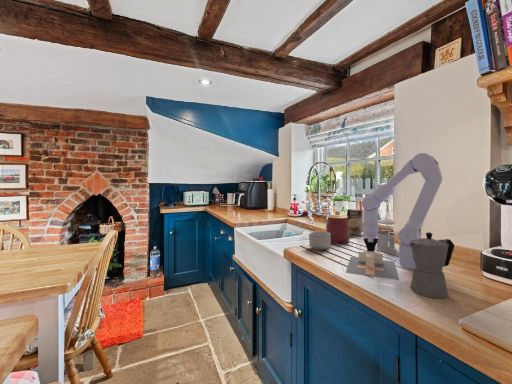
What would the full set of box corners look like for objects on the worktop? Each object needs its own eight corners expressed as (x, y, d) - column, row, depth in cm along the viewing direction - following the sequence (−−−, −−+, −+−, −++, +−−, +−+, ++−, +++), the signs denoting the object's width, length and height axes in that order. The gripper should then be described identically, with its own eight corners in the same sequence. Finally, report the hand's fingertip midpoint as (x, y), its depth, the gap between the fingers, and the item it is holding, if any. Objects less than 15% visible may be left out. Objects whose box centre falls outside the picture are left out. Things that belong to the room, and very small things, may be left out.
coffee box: (346, 234, 160) (346, 209, 159) (348, 232, 165) (348, 209, 165) (361, 235, 155) (361, 210, 154) (363, 234, 160) (363, 209, 160)
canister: (321, 241, 142) (321, 210, 141) (333, 237, 150) (333, 209, 150) (342, 245, 132) (342, 212, 131) (353, 241, 141) (353, 210, 140)
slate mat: (394, 262, 102) (394, 261, 102) (399, 281, 82) (399, 279, 82) (350, 257, 109) (350, 256, 109) (345, 273, 90) (345, 272, 90)
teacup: (331, 252, 118) (331, 235, 118) (308, 251, 121) (308, 234, 120) (329, 245, 132) (329, 230, 132) (308, 244, 134) (308, 229, 134)
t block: (382, 262, 101) (382, 252, 101) (383, 268, 93) (383, 258, 93) (358, 259, 105) (358, 250, 105) (357, 265, 97) (357, 255, 97)
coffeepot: (423, 301, 68) (424, 236, 68) (397, 287, 77) (398, 230, 77) (468, 295, 71) (469, 234, 71) (438, 283, 80) (439, 228, 80)
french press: (371, 249, 123) (371, 199, 122) (381, 245, 130) (381, 198, 130) (392, 253, 115) (393, 200, 115) (401, 249, 123) (401, 199, 122)
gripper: (361, 221, 115) (361, 250, 116) (359, 226, 102) (359, 258, 103) (378, 222, 112) (378, 251, 113) (378, 227, 99) (378, 260, 99)
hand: (370, 255), depth 107 cm, fingers closed
